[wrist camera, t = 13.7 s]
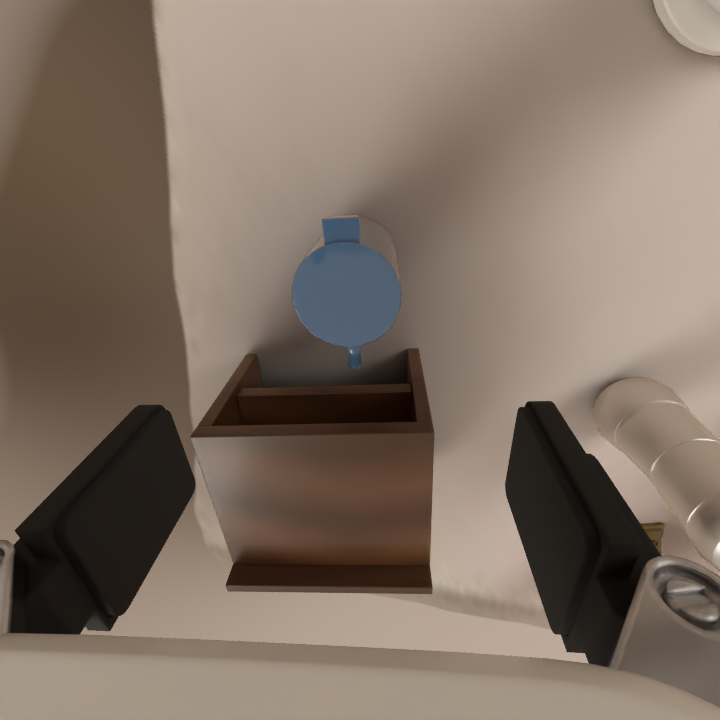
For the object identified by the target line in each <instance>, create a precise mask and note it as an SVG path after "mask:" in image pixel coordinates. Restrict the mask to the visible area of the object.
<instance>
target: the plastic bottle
mask: <svg viewBox="0 0 720 720" xmlns="http://www.w3.org/2000/svg"><path fill="white" fill-rule="evenodd" d="M593 419H594V422H595V424H596V426H597V428H598V430H599V432H600V433H601V435H602V436H603V437H604V438H605V439H606V440H608V441H609V442H610V443H611V444H612V445H613V446H614V447H616V448H617V449H618V450H620V451H621V452H623V453H624V454H625V455H626V456H627V457H628V458H629V459H630V460H631V461H632V462H633V463H634V464H635V465H636V466H637V467H638V468H639V469H640V470H641V471H642V472H643V473H644V474H645V475H646V476H647V477H648V478H649V480H650V481H651V482H652V484H653V485H654V486H655V487H656V489H657V490H658V492H659V493H660V494H661V496H662V497H663V498H664V500H665V501H666V502H667V504H668V505H669V507H670V508H671V510H672V511H673V513H674V515H675V516H676V518H677V520H678V521H679V523H680V525H681V526H682V528H683V529H684V531H685V533H686V534H687V536H688V537H689V540H690V541H691V543H692V544H693V545H694V547H695V548H696V550H697V551H698V552H699V554H700V555H701V557H702V558H704V559H705V560H706V561H708V562H709V563H710V564H712V565H713V566H714V567H715V568H717V569H718V570H719V571H720V439H718V438H717V437H716V436H715V435H713V434H712V433H711V432H710V431H709V430H708V429H707V428H706V427H705V426H704V425H703V424H702V423H701V422H700V421H699V420H698V419H697V418H696V417H695V416H694V415H693V414H692V413H691V411H690V409H689V408H688V407H687V405H686V404H685V403H684V401H683V400H682V399H681V398H680V397H679V396H678V395H677V394H676V393H675V392H674V391H673V390H672V389H671V388H669V387H667V386H665V385H663V384H661V383H659V382H657V381H655V380H652V379H649V378H628V379H623V380H620V381H617V382H615V383H613V384H611V385H610V386H608V387H607V388H605V389H604V390H603V391H602V392H601V393H600V394H599V396H598V397H597V399H596V401H595V404H594V408H593Z"/></svg>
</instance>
